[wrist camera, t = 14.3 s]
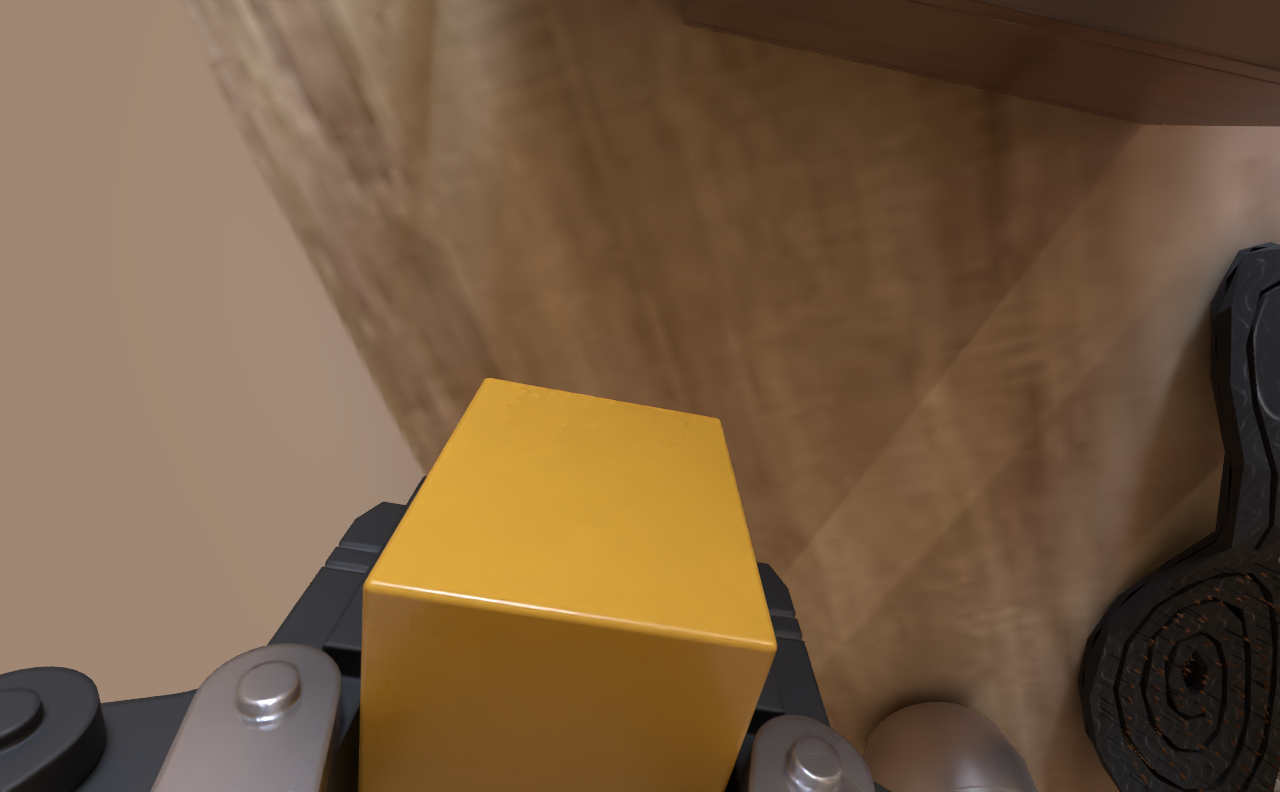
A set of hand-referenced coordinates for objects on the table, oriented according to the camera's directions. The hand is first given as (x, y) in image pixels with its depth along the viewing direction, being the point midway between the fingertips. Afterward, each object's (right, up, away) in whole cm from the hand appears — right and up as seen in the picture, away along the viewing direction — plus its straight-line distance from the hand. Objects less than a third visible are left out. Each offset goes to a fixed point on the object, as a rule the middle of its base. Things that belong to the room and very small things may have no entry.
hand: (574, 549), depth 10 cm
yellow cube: (0, 0, 0) cm, 0 cm away
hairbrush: (+23, -4, +15) cm, 28 cm away
